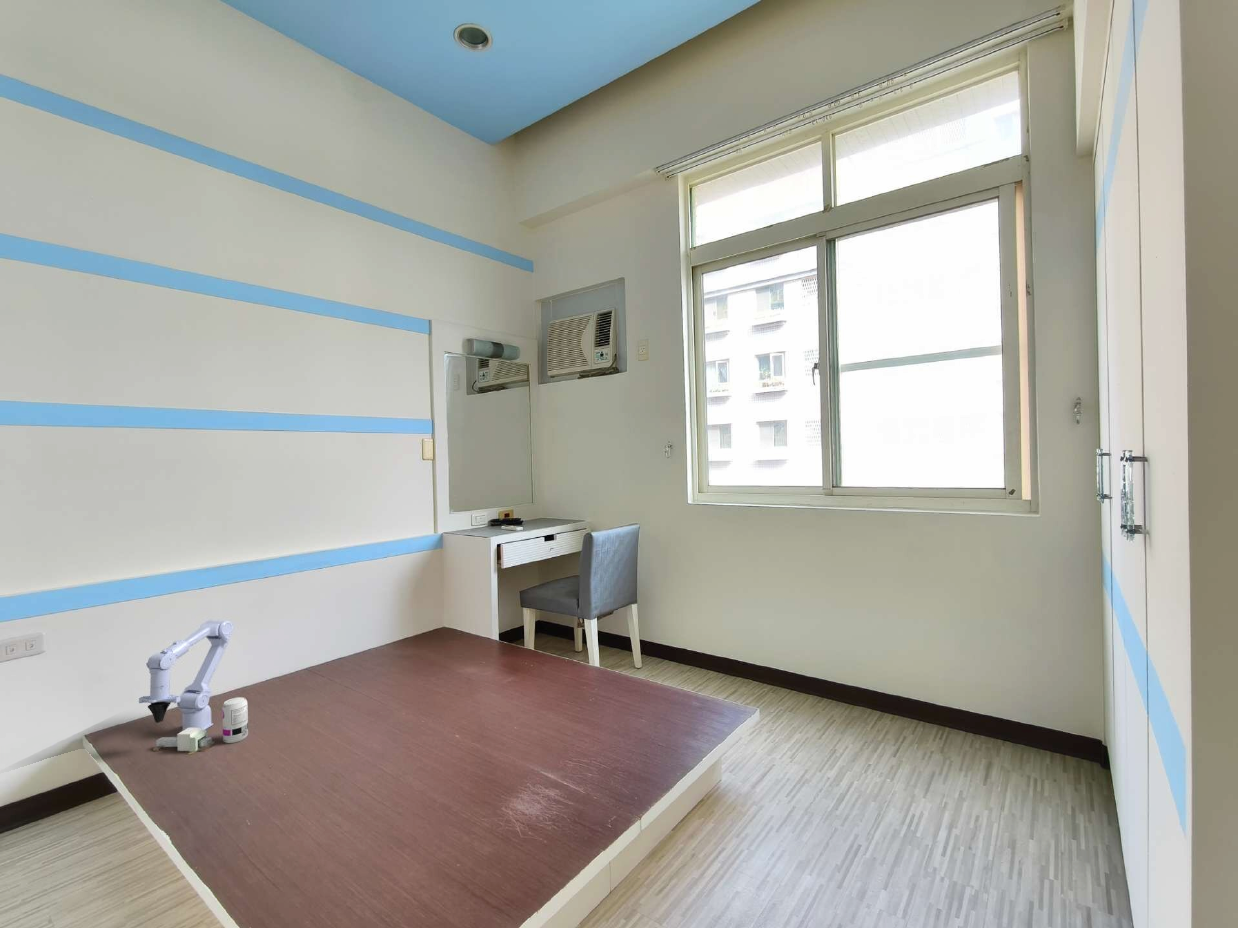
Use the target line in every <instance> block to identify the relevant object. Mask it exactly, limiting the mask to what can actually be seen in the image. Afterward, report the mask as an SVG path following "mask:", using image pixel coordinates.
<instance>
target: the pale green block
mask: <svg viewBox="0 0 1238 928" xmlns="http://www.w3.org/2000/svg"><path fill="white" fill-rule="evenodd" d="M202 737H209V729H205V730H201V731H199V732H198V733H196V734H194V735H193V736H191V737H190V738H189V746H190V751H189V753H190V752H194V753H196V752H197V751H199V748H201V747H198V740H199V739H201V738H202Z"/></svg>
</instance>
